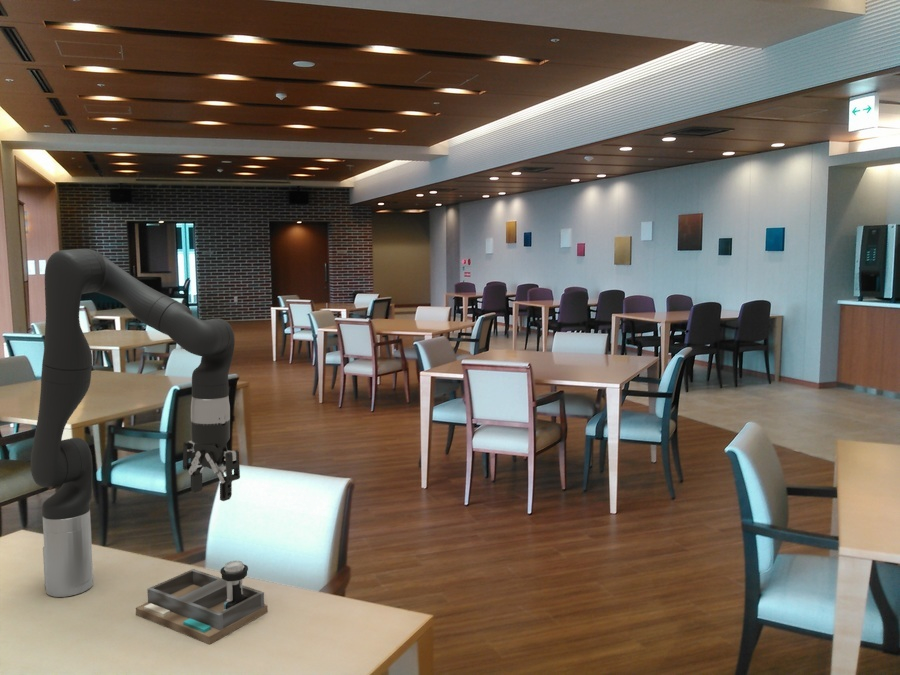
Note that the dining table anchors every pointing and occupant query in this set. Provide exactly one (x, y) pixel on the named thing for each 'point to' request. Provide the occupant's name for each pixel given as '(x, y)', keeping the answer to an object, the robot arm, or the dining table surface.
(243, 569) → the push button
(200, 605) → the dock
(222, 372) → the robot arm
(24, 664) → the dining table surface
